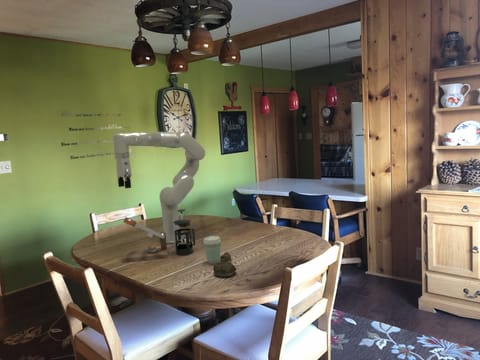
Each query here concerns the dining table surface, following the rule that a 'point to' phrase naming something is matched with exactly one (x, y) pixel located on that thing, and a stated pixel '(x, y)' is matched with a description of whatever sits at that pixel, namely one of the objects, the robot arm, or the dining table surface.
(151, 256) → the base
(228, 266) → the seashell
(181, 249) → the french press
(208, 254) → the coffee cup
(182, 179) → the robot arm
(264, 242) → the dining table surface
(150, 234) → the lever
